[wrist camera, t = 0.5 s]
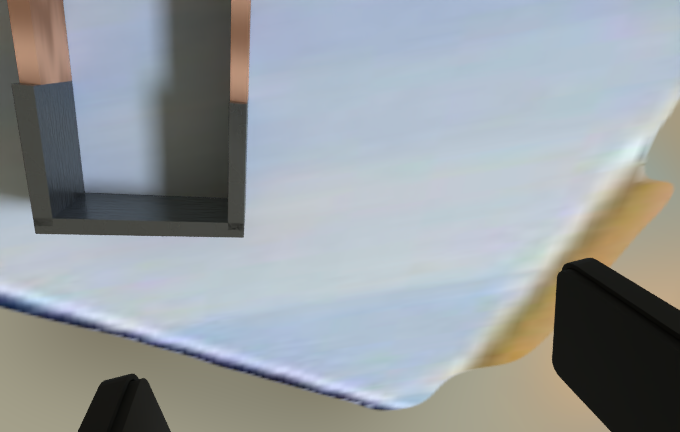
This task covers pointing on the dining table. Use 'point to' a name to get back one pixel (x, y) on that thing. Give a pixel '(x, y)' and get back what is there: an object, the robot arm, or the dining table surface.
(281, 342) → the dining table surface
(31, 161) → the box
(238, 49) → the channel
